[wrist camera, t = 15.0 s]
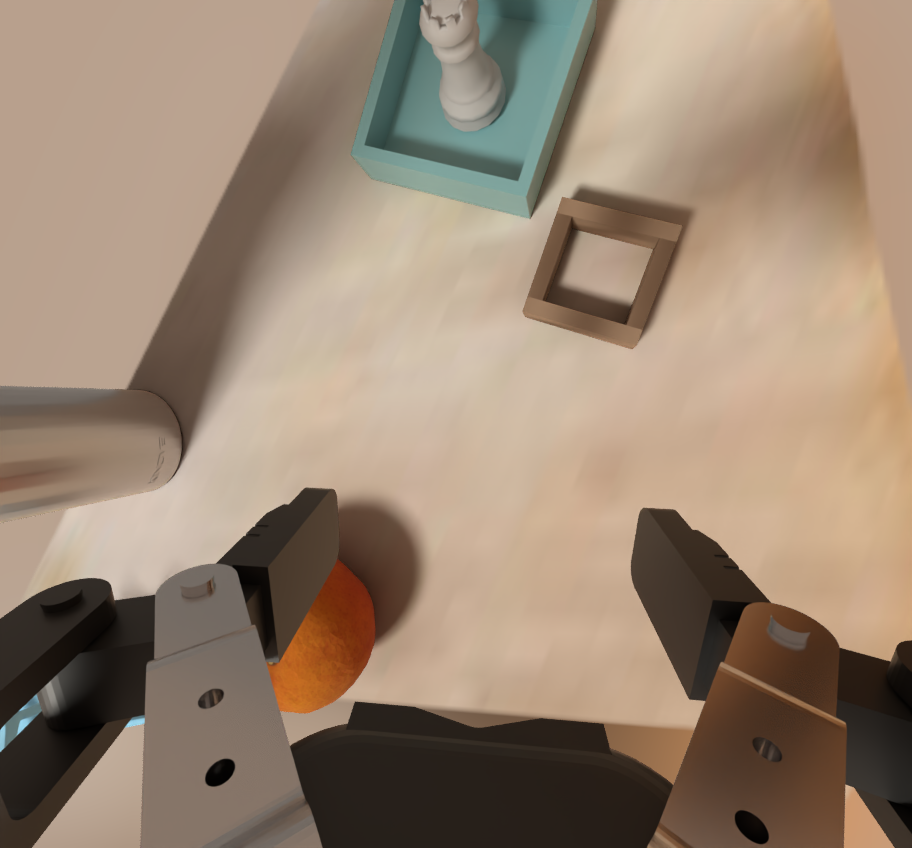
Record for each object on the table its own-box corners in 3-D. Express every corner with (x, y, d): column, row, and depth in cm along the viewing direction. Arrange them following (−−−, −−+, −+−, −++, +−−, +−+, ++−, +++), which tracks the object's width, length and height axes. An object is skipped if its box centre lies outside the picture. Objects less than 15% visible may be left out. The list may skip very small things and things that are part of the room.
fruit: (418, 613, 34) (374, 676, 26) (335, 691, 36) (272, 771, 28) (328, 513, 35) (262, 544, 28) (254, 593, 37) (172, 643, 30)
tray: (371, 178, 33) (350, 154, 30) (422, 1, 31) (406, -44, 28) (529, 218, 30) (525, 197, 27) (595, 27, 29) (598, -19, 26)
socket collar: (525, 316, 31) (522, 311, 29) (562, 210, 30) (562, 196, 28) (631, 349, 29) (636, 345, 27) (674, 237, 28) (682, 225, 26)
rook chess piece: (446, 142, 31) (406, 55, 23) (440, 78, 31) (398, -32, 23) (509, 127, 30) (490, 29, 22) (504, 60, 29) (482, -62, 22)
